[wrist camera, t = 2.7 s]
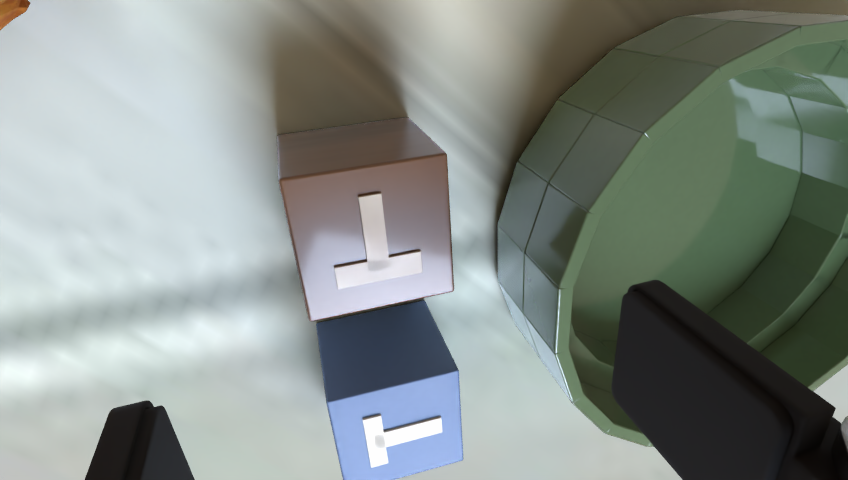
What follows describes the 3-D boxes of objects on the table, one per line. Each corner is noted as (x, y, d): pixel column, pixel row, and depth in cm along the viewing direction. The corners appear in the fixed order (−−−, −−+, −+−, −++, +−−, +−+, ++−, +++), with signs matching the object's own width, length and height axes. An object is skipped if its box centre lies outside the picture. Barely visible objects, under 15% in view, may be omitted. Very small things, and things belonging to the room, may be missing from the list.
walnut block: (276, 134, 19) (277, 180, 14) (408, 116, 20) (448, 153, 15) (301, 253, 21) (309, 325, 17) (418, 232, 22) (455, 293, 18)
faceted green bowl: (490, 35, 19) (572, 53, 14) (873, -7, 23) (1052, -5, 18) (494, 395, 28) (546, 491, 22) (773, 323, 31) (874, 391, 26)
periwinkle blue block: (315, 322, 23) (326, 404, 18) (424, 299, 24) (459, 371, 19) (333, 405, 25) (346, 495, 20) (431, 381, 26) (464, 462, 21)
